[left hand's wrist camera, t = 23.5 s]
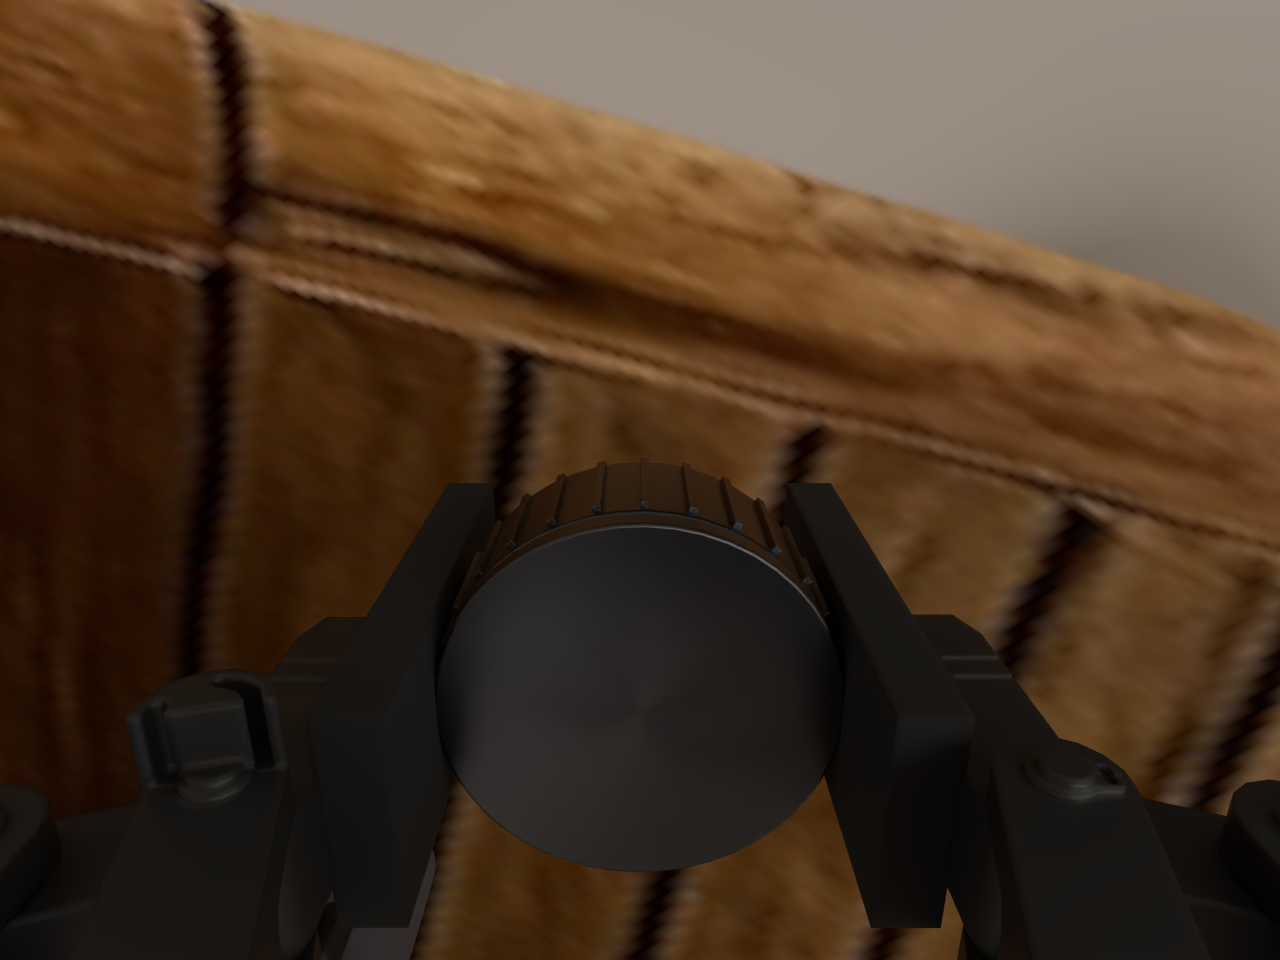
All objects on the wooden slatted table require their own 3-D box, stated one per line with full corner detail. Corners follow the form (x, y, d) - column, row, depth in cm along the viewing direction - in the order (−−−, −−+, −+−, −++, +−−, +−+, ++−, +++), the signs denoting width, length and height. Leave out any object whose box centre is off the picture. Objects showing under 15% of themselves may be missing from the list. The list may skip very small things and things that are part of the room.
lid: (635, 820, 14) (634, 938, 12) (390, 617, 12) (340, 708, 10) (887, 626, 12) (938, 719, 10) (646, 378, 11) (647, 427, 9)
